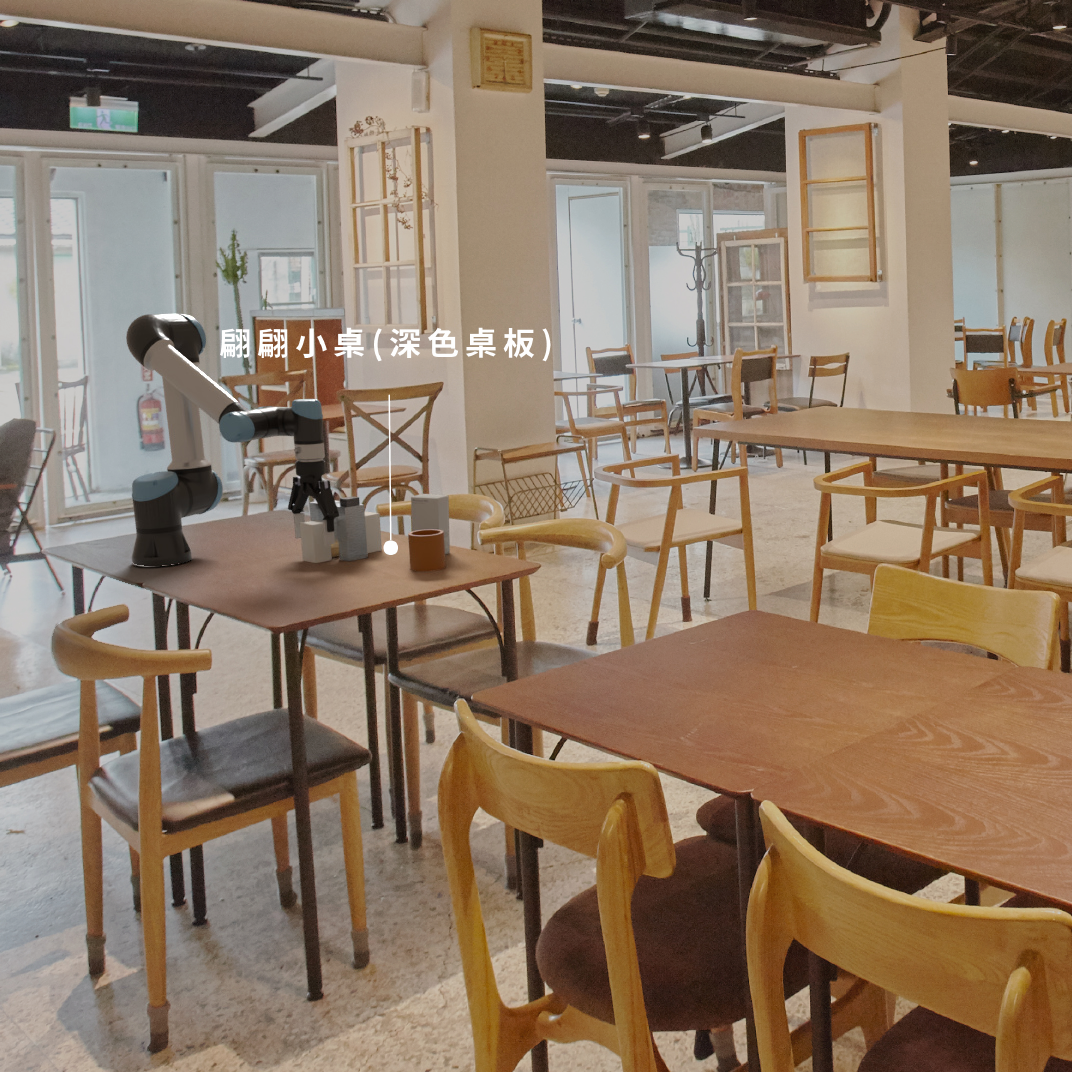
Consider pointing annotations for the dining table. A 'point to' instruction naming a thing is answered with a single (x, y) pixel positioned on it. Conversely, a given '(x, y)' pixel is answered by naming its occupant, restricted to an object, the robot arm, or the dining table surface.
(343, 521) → the gray notched block
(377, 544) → the white block dumbbell
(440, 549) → the mug
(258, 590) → the dining table surface
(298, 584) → the dining table surface
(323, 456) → the robot arm
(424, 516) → the skincare box
